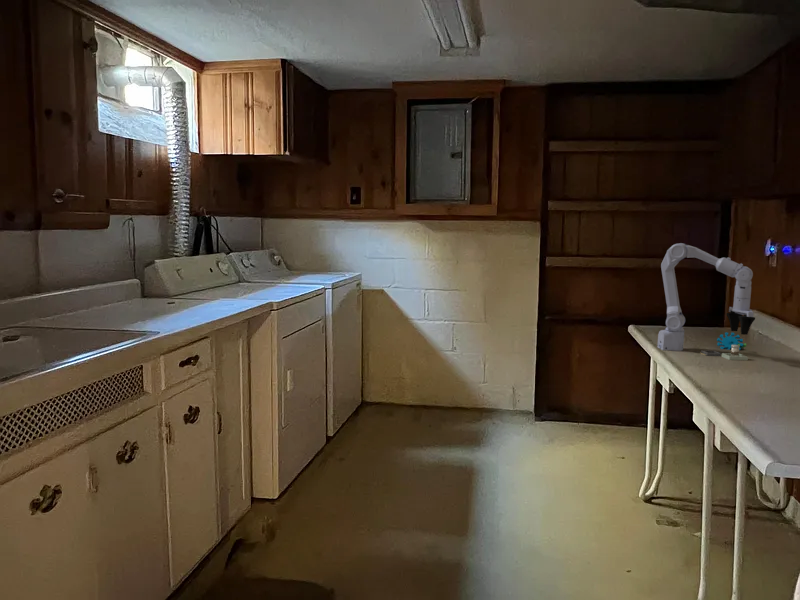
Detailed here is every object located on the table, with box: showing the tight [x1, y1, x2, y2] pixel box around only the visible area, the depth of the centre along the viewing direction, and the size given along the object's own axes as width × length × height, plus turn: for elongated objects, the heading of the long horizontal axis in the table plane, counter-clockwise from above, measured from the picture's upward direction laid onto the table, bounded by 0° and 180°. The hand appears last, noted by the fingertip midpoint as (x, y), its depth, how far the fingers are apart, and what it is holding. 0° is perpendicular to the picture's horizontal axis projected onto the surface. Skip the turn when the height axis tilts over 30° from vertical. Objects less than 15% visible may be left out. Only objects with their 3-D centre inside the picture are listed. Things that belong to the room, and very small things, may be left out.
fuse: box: [730, 345, 740, 356], centre depth 259 cm, size 3×3×6 cm
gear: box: [716, 331, 747, 351], centre depth 281 cm, size 11×6×10 cm
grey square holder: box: [699, 349, 722, 357], centre depth 266 cm, size 7×6×2 cm
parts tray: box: [721, 352, 749, 361], centre depth 259 cm, size 7×6×2 cm
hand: (739, 332), depth 263 cm, fingers open, 7 cm apart
